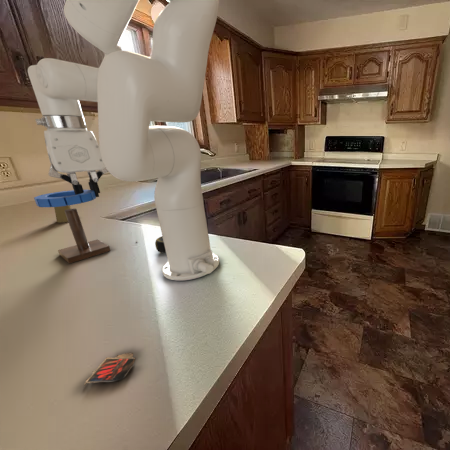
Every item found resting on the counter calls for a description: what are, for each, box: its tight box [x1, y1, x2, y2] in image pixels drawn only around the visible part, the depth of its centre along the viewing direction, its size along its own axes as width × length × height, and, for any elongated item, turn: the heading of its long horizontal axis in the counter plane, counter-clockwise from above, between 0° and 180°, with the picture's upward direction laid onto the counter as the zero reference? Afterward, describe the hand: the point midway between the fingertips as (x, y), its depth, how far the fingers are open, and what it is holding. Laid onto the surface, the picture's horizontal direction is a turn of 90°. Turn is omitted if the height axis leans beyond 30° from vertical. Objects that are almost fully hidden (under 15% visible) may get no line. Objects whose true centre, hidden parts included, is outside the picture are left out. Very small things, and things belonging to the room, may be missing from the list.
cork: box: [53, 205, 73, 224], centre depth 96 cm, size 6×6×11 cm
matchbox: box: [83, 352, 136, 387], centre depth 33 cm, size 5×5×1 cm
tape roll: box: [33, 189, 97, 208], centre depth 63 cm, size 11×11×2 cm
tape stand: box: [57, 208, 111, 264], centre depth 66 cm, size 9×9×12 cm
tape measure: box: [154, 235, 166, 254], centre depth 68 cm, size 7×7×4 cm
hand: (89, 196), depth 67 cm, fingers closed on tape roll, 2 cm apart
